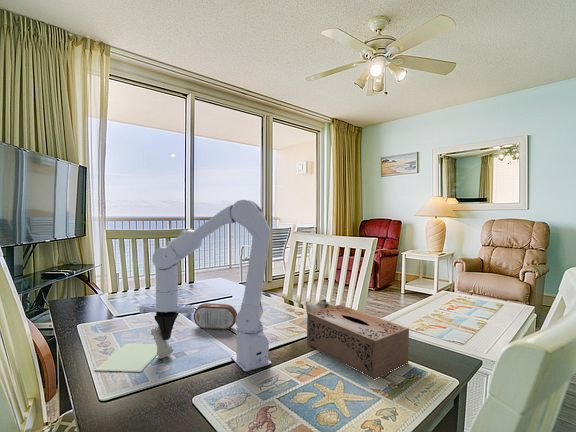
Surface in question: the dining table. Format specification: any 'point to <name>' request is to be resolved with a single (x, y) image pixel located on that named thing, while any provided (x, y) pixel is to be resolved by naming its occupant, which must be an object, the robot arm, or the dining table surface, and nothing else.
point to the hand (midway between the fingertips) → (166, 338)
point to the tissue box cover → (358, 339)
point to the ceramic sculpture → (318, 306)
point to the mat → (130, 358)
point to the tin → (215, 316)
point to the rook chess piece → (161, 343)
